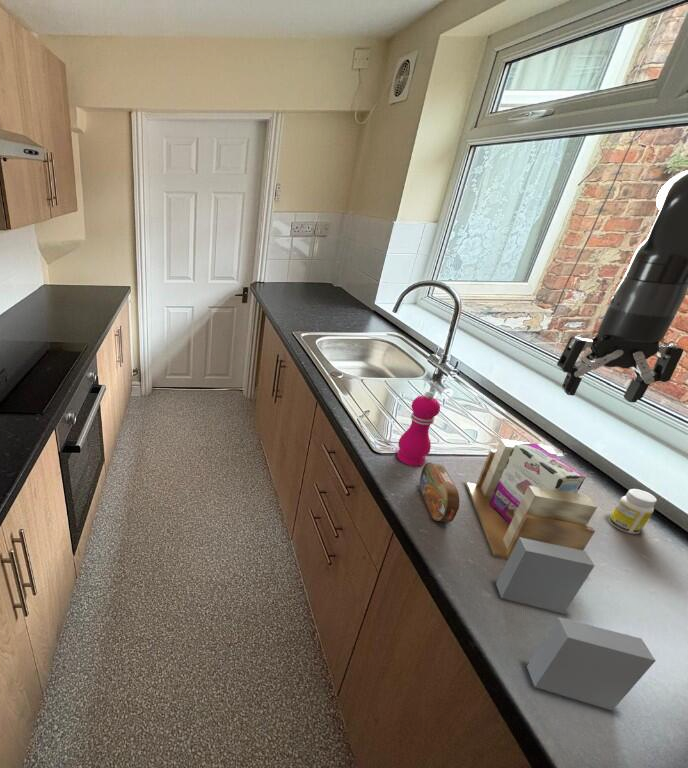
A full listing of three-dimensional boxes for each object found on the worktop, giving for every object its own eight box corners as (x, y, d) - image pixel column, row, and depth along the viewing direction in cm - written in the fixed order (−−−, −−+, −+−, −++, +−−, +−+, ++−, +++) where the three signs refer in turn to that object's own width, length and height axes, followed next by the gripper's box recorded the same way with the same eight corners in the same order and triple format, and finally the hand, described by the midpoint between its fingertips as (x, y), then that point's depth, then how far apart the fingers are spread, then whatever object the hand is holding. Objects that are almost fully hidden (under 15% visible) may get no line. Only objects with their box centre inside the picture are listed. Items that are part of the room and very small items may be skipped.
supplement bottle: (633, 521, 88) (653, 491, 84) (644, 537, 84) (665, 506, 81) (604, 515, 90) (622, 484, 86) (613, 530, 86) (632, 499, 82)
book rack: (535, 498, 95) (562, 444, 88) (582, 577, 76) (620, 516, 70) (465, 485, 99) (485, 432, 92) (493, 556, 81) (521, 497, 74)
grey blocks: (555, 599, 73) (585, 551, 67) (611, 711, 57) (655, 660, 52) (495, 584, 75) (519, 536, 70) (533, 688, 60) (567, 637, 55)
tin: (416, 482, 100) (425, 454, 96) (430, 484, 100) (440, 456, 96) (436, 529, 87) (447, 498, 83) (453, 531, 86) (465, 501, 83)
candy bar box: (552, 542, 82) (588, 477, 75) (528, 543, 82) (562, 478, 75) (508, 502, 92) (536, 441, 85) (487, 503, 92) (513, 443, 85)
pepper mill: (424, 471, 104) (447, 402, 95) (393, 462, 107) (411, 394, 98) (426, 456, 109) (448, 389, 100) (396, 448, 113) (414, 382, 104)
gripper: (598, 310, 65) (558, 401, 72) (720, 318, 61) (664, 413, 68) (575, 298, 71) (540, 382, 79) (685, 304, 67) (637, 392, 74)
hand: (598, 396), depth 73 cm, fingers open, 8 cm apart
